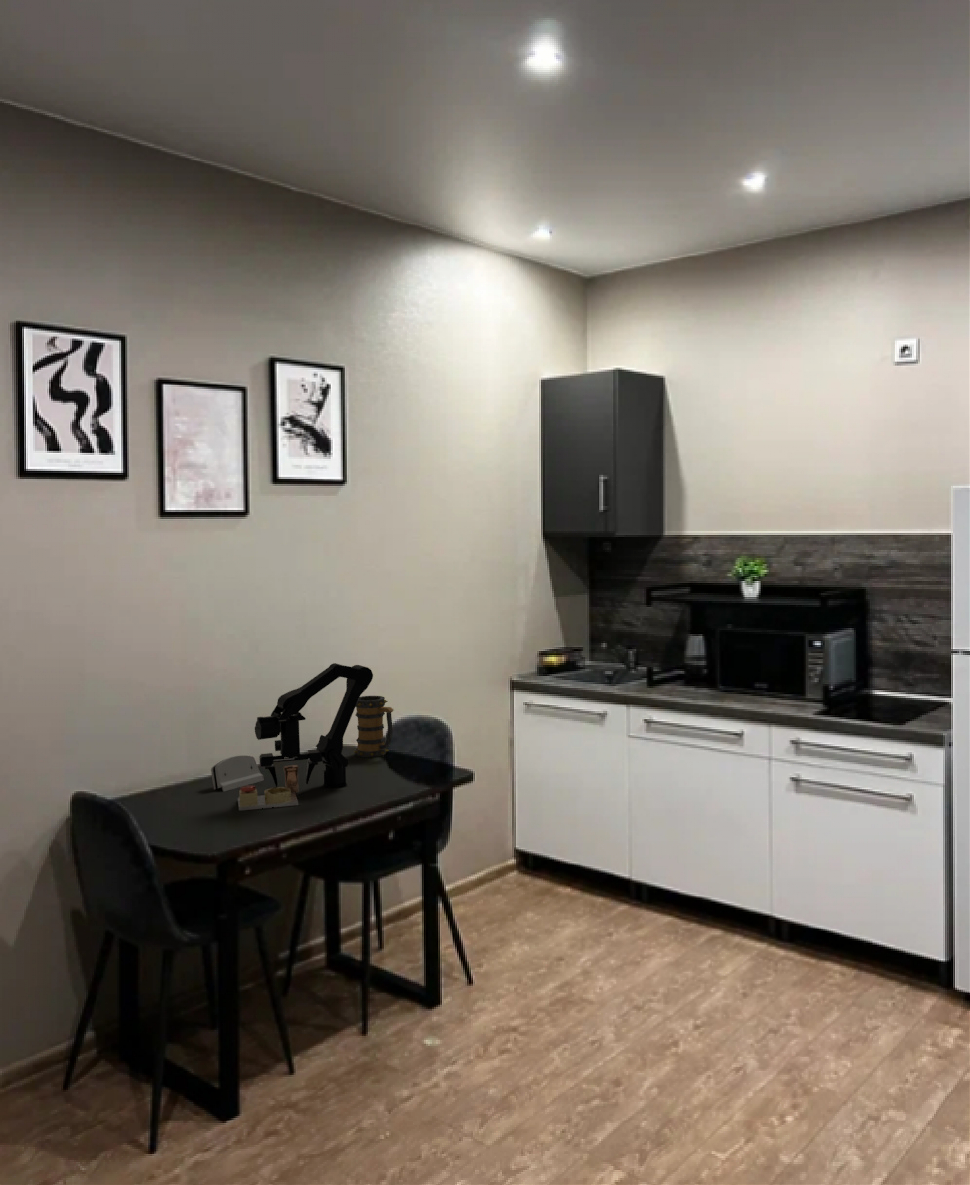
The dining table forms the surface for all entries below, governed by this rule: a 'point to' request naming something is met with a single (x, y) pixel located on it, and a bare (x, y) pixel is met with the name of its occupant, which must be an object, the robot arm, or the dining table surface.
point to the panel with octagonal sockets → (265, 798)
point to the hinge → (235, 772)
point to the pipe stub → (291, 777)
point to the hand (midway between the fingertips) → (291, 785)
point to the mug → (372, 726)
